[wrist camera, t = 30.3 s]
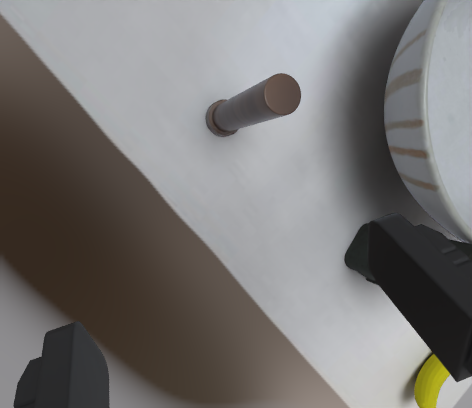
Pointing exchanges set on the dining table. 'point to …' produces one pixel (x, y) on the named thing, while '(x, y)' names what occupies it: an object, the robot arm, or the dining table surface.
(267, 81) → the brown flanged cylinder
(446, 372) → the fruit
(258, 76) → the dining table surface
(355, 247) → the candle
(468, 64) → the dishware bowl
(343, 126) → the dining table surface
